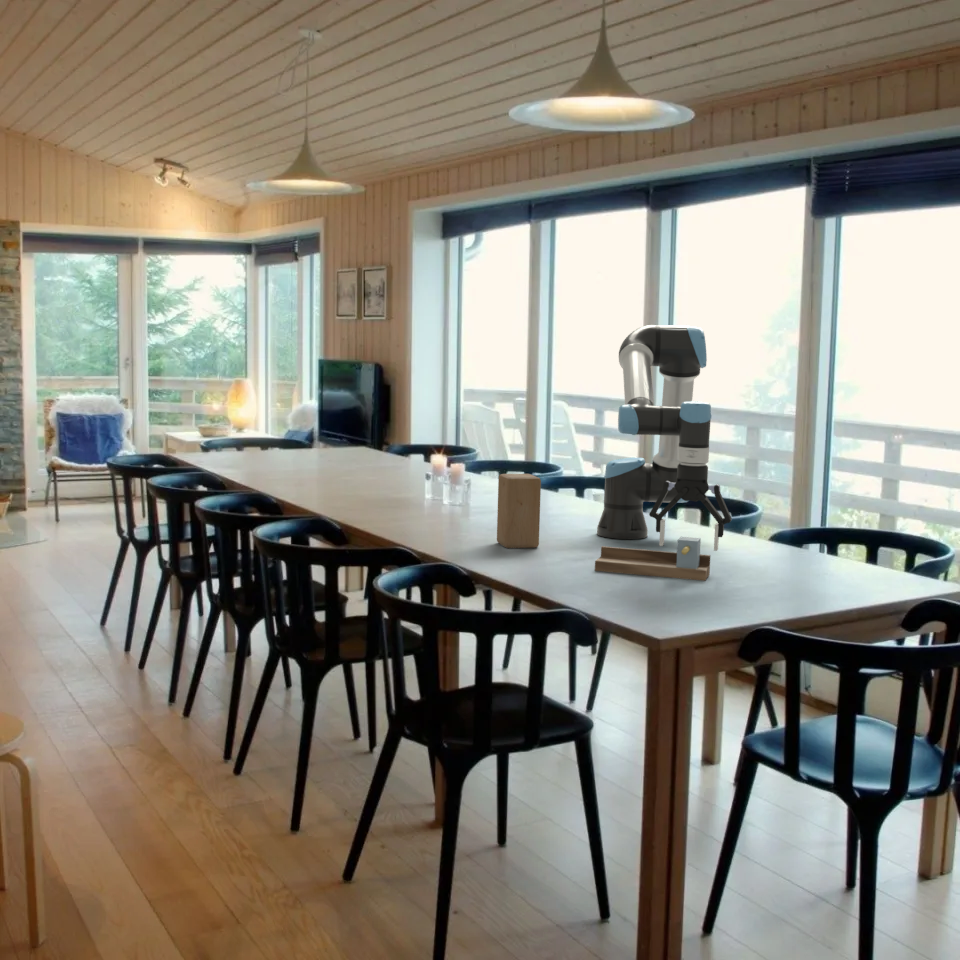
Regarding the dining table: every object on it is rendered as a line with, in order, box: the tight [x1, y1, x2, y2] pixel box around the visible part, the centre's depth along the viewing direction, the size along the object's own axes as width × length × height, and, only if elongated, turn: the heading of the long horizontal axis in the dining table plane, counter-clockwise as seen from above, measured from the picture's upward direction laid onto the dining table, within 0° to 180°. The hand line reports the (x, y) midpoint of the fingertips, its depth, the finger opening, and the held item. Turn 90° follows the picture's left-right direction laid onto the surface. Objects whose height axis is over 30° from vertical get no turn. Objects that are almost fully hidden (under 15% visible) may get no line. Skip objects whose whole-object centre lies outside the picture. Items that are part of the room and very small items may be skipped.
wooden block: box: [496, 473, 542, 549], centre depth 323 cm, size 10×10×20 cm
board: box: [594, 545, 711, 582], centre depth 291 cm, size 8×28×5 cm, turn 72°
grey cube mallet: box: [676, 536, 701, 569], centre depth 285 cm, size 10×5×7 cm, turn 161°
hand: (688, 547), depth 288 cm, fingers open, 13 cm apart
